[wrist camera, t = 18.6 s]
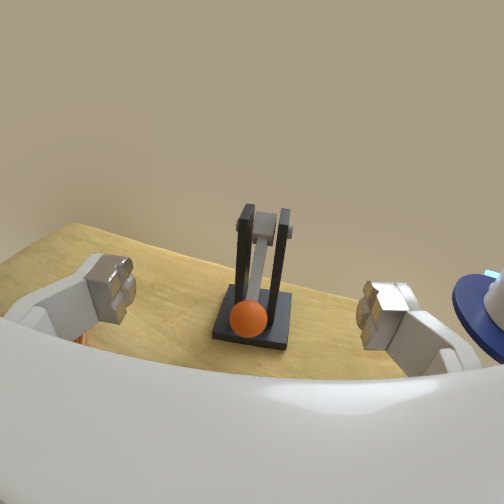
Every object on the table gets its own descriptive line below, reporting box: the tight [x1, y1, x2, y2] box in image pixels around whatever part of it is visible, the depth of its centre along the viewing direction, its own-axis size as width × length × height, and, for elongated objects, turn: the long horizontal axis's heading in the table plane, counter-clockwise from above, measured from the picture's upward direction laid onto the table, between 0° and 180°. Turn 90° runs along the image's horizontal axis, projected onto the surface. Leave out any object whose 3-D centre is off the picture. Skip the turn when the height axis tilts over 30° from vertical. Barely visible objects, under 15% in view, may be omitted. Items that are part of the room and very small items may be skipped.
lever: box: [229, 211, 277, 338], centre depth 30 cm, size 13×4×4 cm
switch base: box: [212, 204, 293, 350], centre depth 35 cm, size 10×9×15 cm
